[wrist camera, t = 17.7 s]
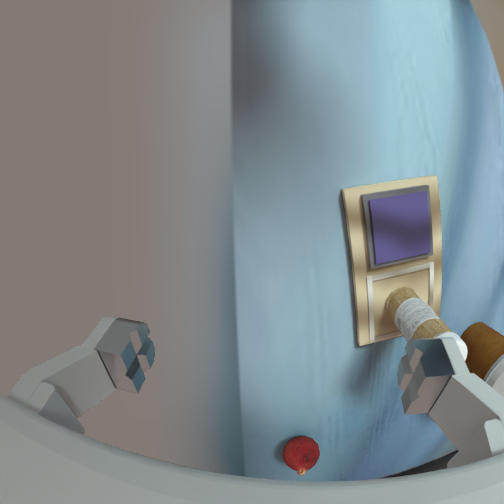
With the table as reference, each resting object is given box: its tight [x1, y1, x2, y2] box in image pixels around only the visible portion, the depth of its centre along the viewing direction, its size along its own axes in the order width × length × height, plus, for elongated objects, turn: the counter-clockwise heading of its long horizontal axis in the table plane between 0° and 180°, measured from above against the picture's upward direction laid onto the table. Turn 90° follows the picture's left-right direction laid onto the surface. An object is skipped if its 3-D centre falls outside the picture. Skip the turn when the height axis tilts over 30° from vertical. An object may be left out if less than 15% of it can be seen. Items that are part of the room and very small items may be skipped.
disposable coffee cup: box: [461, 322, 504, 397], centre depth 33 cm, size 10×10×12 cm
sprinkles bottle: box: [386, 287, 468, 361], centre depth 29 cm, size 5×5×13 cm
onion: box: [283, 436, 320, 475], centre depth 41 cm, size 6×6×8 cm
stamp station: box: [341, 175, 442, 346], centre depth 34 cm, size 20×12×2 cm, turn 12°
